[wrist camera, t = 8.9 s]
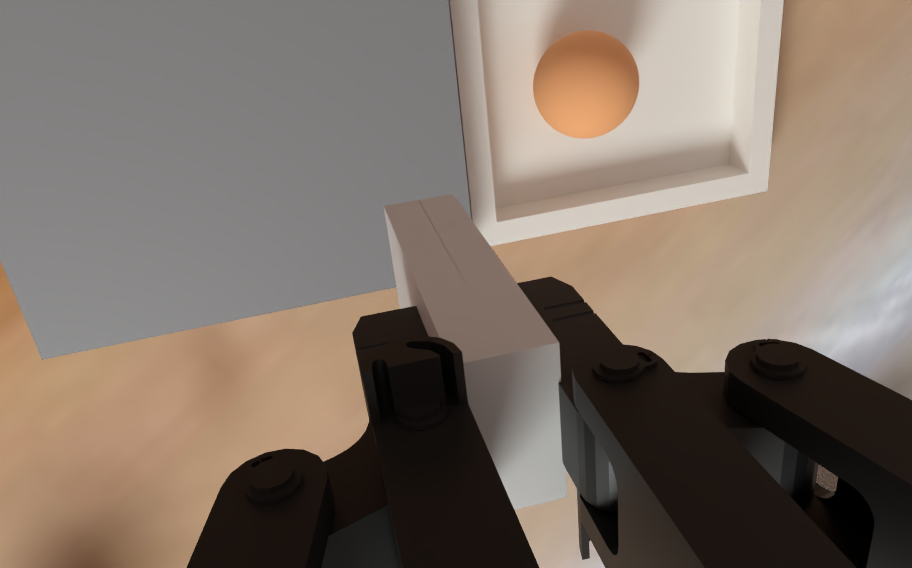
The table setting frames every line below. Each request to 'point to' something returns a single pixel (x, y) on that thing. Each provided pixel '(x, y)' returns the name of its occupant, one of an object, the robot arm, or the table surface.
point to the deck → (213, 156)
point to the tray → (640, 135)
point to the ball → (586, 84)
